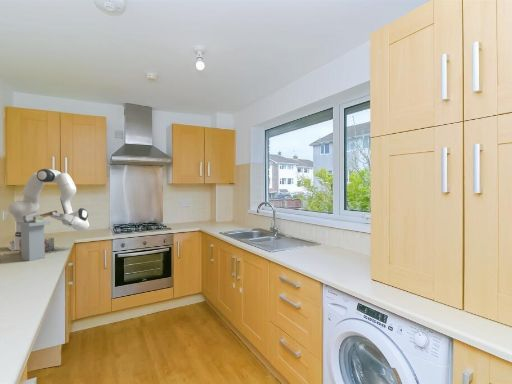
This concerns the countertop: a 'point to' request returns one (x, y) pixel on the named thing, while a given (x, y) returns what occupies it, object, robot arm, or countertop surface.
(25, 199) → the robot arm
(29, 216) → the steel-headed mallet
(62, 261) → the countertop surface
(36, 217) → the sage cube
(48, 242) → the stack of blocks
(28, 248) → the grey pedestal
